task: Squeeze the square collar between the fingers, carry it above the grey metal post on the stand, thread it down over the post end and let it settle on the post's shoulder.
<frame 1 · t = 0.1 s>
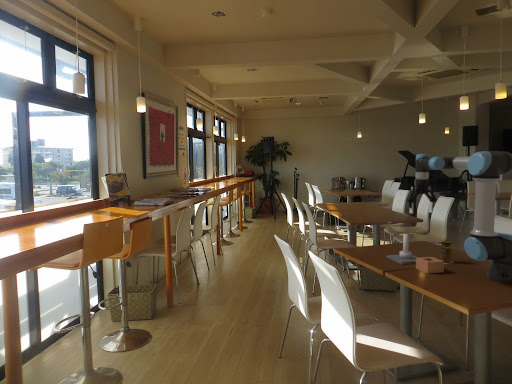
hand: (421, 212, 234), 28 cm above the table, tool pointing down, fingers open, 13 cm apart
condiment: (444, 262, 224), on the table
collar: (429, 270, 207), on the table
post stand: (405, 260, 228), on the table
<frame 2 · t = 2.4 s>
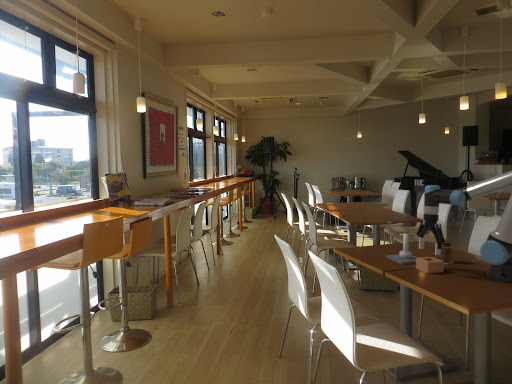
hand: (429, 251, 206), 10 cm above the table, tool pointing down, fingers open, 13 cm apart
nothing on the table moved.
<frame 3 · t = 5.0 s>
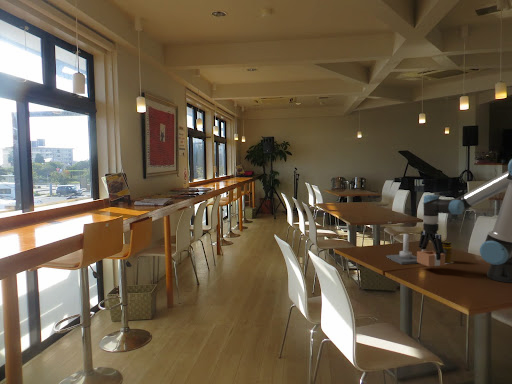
hand: (430, 263, 206), 4 cm above the table, tool pointing down, fingers closed on collar, 10 cm apart
collar: (430, 263, 206), point 4 cm above the table, touching gripper
everything else where it was.
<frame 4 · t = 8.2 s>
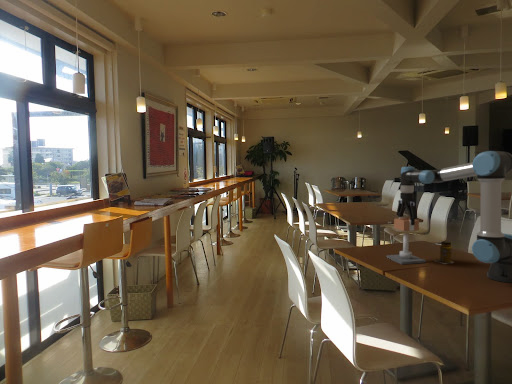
hand: (406, 228, 227), 19 cm above the table, tool pointing down, fingers closed on collar, 10 cm apart
collar: (406, 229, 227), point 19 cm above the table, touching gripper
everything else where it was.
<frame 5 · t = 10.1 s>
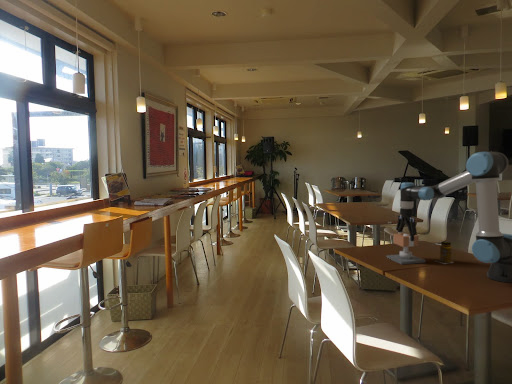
hand: (405, 244, 227), 10 cm above the table, tool pointing down, fingers closed on collar, 10 cm apart
collar: (405, 244, 227), point 10 cm above the table, touching gripper
everything else where it was.
when the fingers open (6 cm above the table, at t = 11.7 s): collar stays where it is, resting on post stand.
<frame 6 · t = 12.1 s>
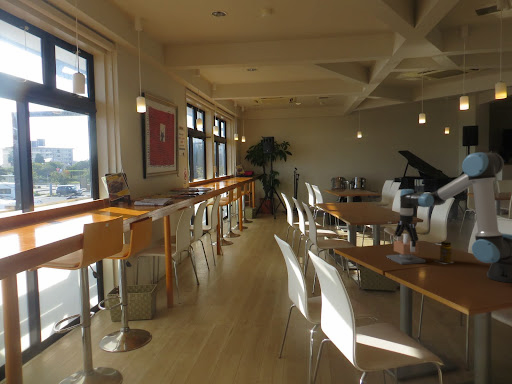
hand: (405, 249, 228), 7 cm above the table, tool pointing down, fingers open, 13 cm apart
collar: (405, 252, 228), point 5 cm above the table, touching post stand
everything else where it was.
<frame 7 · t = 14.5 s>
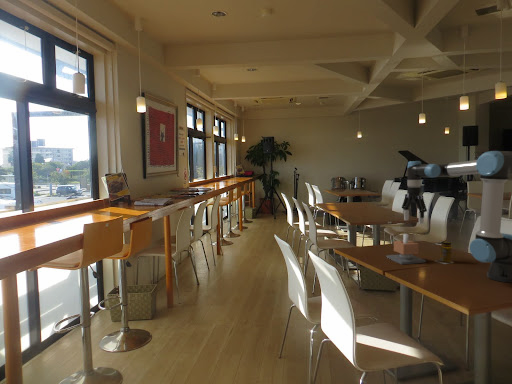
hand: (413, 221, 226), 24 cm above the table, tool pointing down, fingers open, 13 cm apart
nothing on the table moved.
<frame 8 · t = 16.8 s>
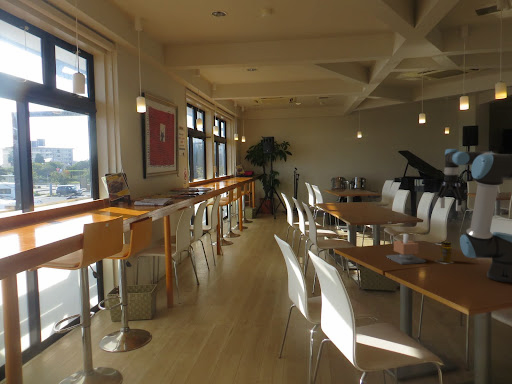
hand: (450, 209, 228), 31 cm above the table, tool pointing down, fingers open, 13 cm apart
nothing on the table moved.
at the end: collar 0.1 cm off-centre on the post stand, point 5.0 cm above the post stand's base; the gripper is holding nothing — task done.
